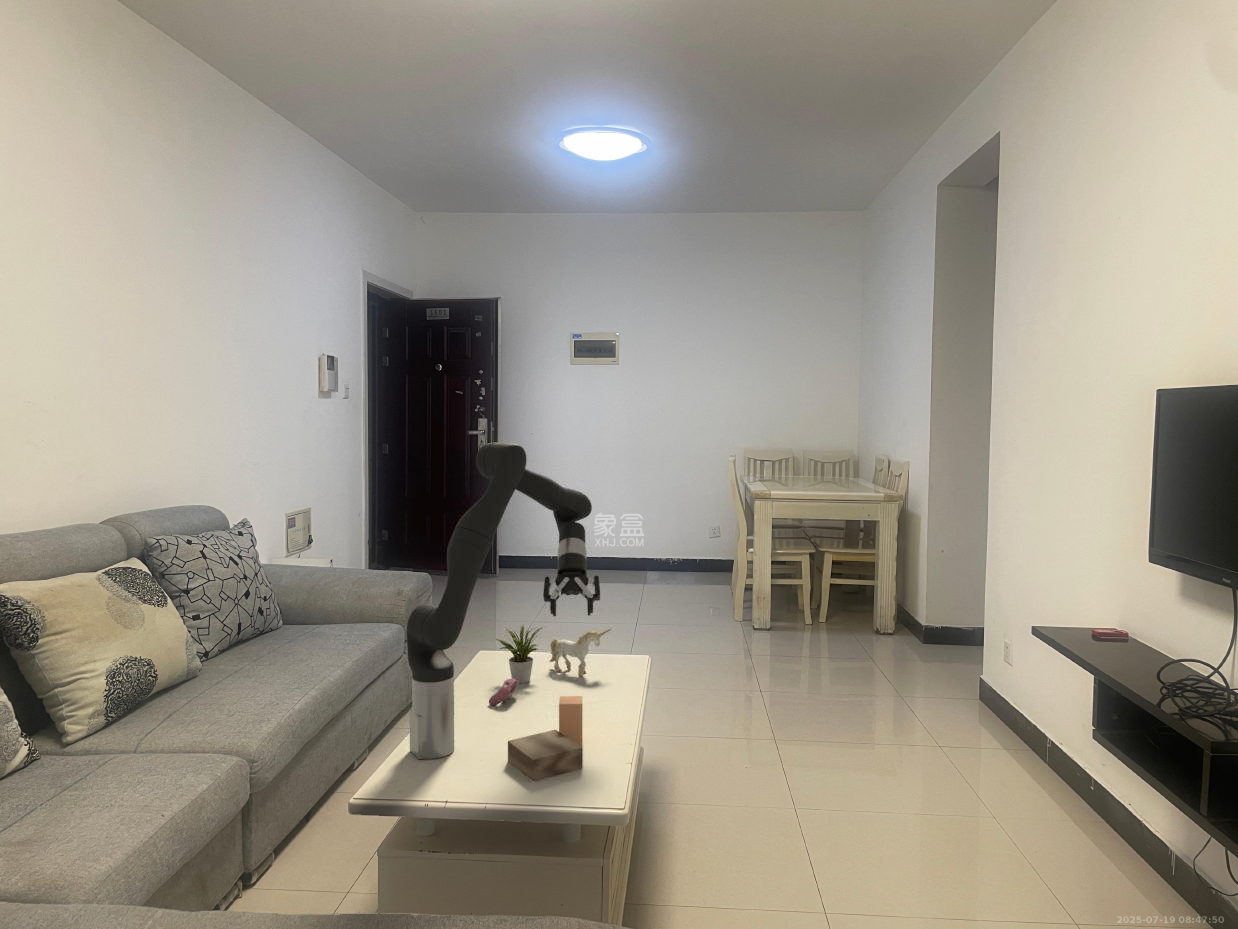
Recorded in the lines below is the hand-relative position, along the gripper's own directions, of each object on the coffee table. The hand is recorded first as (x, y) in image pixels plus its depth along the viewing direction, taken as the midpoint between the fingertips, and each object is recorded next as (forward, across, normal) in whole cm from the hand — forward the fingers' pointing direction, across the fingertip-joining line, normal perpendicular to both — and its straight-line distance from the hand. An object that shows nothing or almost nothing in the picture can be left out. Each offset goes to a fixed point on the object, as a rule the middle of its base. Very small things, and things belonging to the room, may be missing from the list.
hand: (571, 614), depth 196 cm
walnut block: (+36, -6, +2) cm, 37 cm away
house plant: (-4, -16, +45) cm, 47 cm away
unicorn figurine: (-9, +1, +50) cm, 51 cm away
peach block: (+28, 0, +11) cm, 30 cm away
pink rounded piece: (+8, -19, +32) cm, 38 cm away
